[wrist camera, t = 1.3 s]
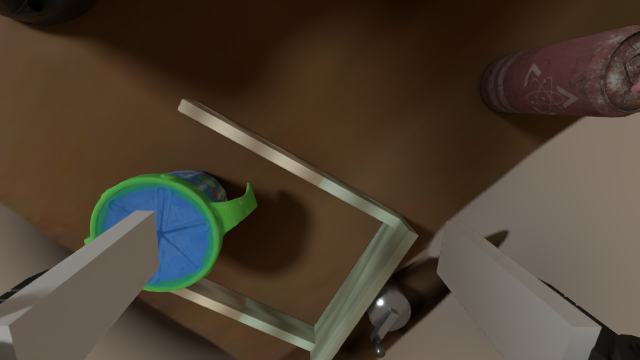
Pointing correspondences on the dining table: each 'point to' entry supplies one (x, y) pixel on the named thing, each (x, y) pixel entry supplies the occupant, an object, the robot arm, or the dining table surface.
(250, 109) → the dining table surface
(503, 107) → the can
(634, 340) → the robot arm
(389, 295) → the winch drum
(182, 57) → the dining table surface
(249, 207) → the snack cup
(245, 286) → the dining table surface
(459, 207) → the dining table surface
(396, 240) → the bay
